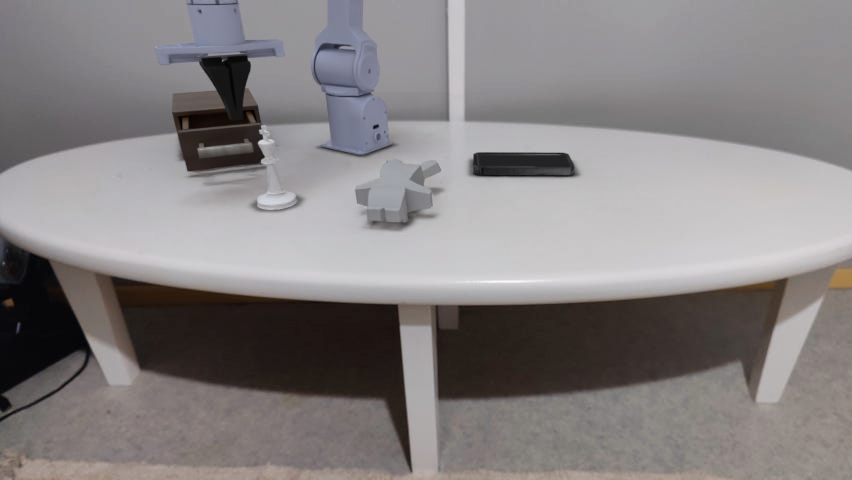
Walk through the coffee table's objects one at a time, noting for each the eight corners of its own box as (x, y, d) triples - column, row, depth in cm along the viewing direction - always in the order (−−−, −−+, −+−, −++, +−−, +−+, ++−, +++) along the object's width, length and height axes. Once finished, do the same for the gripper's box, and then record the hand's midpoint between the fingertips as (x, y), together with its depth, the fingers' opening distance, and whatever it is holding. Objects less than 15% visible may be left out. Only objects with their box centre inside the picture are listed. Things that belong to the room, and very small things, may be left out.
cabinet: (266, 150, 93) (257, 105, 90) (183, 159, 88) (171, 112, 85) (255, 128, 105) (248, 88, 102) (183, 135, 101) (172, 93, 97)
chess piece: (283, 193, 76) (270, 118, 71) (304, 202, 73) (292, 125, 68) (249, 203, 72) (233, 126, 67) (271, 213, 70) (256, 133, 65)
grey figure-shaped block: (340, 194, 64) (378, 143, 76) (347, 233, 67) (382, 178, 79) (421, 199, 63) (447, 147, 75) (424, 238, 66) (448, 181, 78)
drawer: (273, 171, 81) (266, 132, 78) (187, 181, 77) (177, 141, 74) (258, 138, 96) (251, 104, 94) (186, 146, 92) (177, 110, 89)
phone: (473, 152, 89) (567, 152, 89) (473, 159, 89) (567, 159, 89) (473, 167, 82) (575, 168, 82) (473, 175, 82) (574, 175, 82)
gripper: (265, 0, 73) (282, 106, 80) (140, 3, 66) (170, 119, 72) (281, 3, 68) (298, 116, 74) (147, 6, 61) (178, 131, 67)
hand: (235, 118), depth 73 cm, fingers closed
